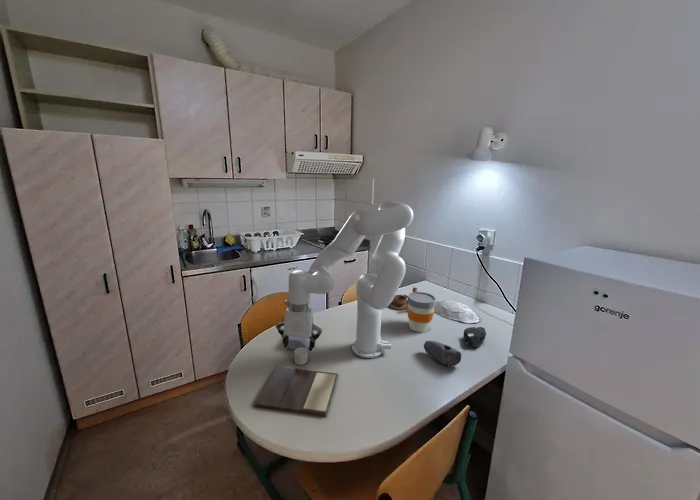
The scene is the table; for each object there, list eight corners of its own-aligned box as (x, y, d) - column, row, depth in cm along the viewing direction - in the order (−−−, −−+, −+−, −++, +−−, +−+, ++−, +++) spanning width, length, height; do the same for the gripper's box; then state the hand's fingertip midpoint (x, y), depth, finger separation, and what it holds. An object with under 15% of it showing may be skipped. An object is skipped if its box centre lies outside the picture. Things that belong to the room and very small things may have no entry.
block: (285, 352, 119) (308, 351, 117) (282, 341, 118) (306, 340, 116) (296, 337, 131) (317, 336, 128) (294, 327, 130) (315, 326, 127)
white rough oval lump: (471, 326, 139) (473, 312, 138) (424, 310, 156) (425, 298, 155) (484, 318, 150) (485, 305, 149) (438, 304, 167) (439, 293, 166)
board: (337, 375, 104) (337, 373, 104) (325, 416, 87) (325, 413, 86) (277, 368, 107) (277, 365, 107) (254, 406, 90) (254, 403, 89)
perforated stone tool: (419, 353, 118) (421, 337, 116) (427, 348, 122) (429, 333, 120) (453, 372, 107) (455, 356, 105) (461, 367, 111) (463, 350, 109)
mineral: (491, 349, 122) (493, 336, 120) (469, 349, 122) (471, 336, 120) (480, 336, 132) (482, 324, 130) (460, 336, 132) (461, 324, 130)
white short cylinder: (309, 357, 114) (309, 348, 113) (305, 365, 109) (305, 356, 108) (296, 355, 114) (296, 346, 113) (292, 364, 110) (292, 354, 109)
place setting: (382, 299, 166) (383, 290, 164) (414, 296, 172) (415, 286, 170) (396, 314, 150) (397, 303, 148) (431, 309, 156) (432, 299, 154)
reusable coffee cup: (422, 337, 130) (425, 305, 126) (399, 325, 139) (402, 296, 135) (438, 328, 138) (441, 298, 134) (416, 317, 147) (418, 289, 143)
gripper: (271, 307, 103) (272, 350, 108) (320, 312, 101) (319, 356, 105) (279, 298, 110) (280, 339, 115) (325, 303, 108) (323, 345, 113)
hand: (298, 347), depth 110 cm, fingers open, 9 cm apart
